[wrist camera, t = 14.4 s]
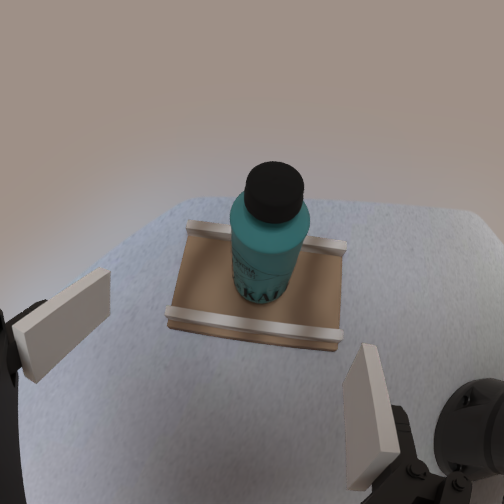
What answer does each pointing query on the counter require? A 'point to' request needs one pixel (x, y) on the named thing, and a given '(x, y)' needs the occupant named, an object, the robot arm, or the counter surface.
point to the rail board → (261, 314)
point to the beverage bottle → (268, 231)
